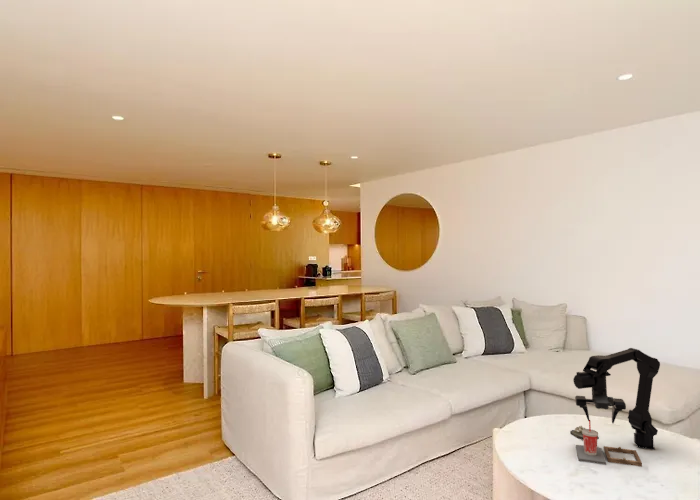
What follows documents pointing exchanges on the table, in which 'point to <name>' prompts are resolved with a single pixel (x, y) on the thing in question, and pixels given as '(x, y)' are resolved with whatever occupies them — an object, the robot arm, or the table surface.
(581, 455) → the rubber mat
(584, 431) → the beverage cup
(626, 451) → the socket collar
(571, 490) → the table surface
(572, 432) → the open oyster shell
